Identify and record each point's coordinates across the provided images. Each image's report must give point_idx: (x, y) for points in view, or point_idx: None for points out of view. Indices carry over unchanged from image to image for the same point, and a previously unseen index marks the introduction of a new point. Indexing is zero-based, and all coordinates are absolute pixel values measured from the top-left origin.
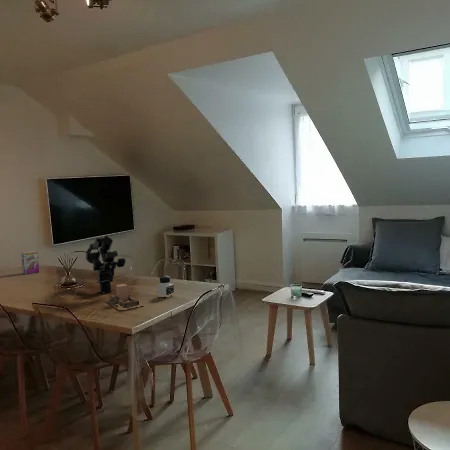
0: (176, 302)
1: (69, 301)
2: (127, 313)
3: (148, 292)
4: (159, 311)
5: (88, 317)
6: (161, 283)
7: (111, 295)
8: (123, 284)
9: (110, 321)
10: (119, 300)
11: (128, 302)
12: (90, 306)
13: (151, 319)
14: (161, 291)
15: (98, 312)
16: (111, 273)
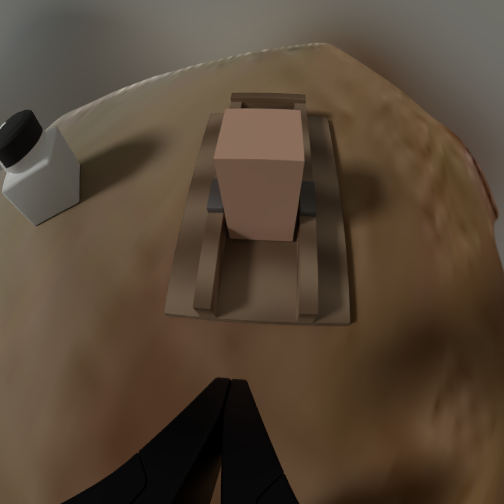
0: (105, 114)
1: (497, 451)
2: (306, 95)
3: (39, 324)
4: (209, 71)
5: (440, 141)
6: (42, 136)
7: (314, 291)
8: (234, 142)
9: (372, 81)
10: (307, 148)
11: (284, 94)
12: (442, 274)
13: (266, 49)
14: (65, 161)
15: (410, 161)
16: (257, 412)
